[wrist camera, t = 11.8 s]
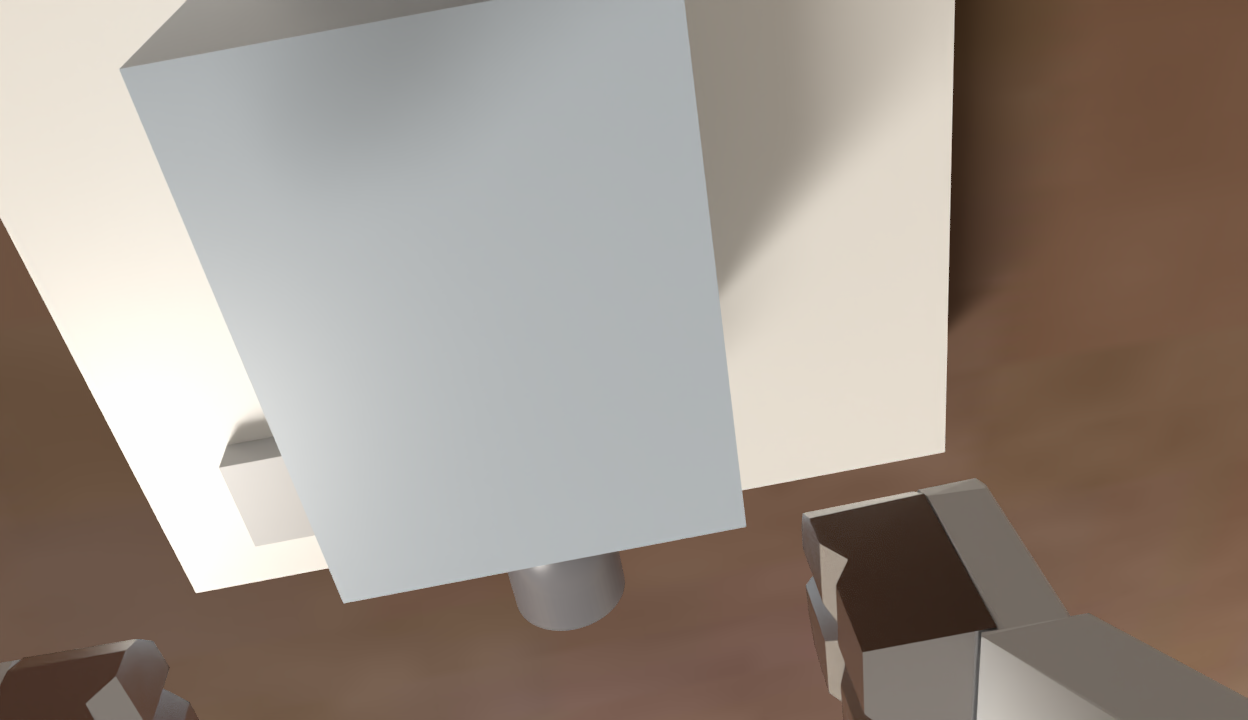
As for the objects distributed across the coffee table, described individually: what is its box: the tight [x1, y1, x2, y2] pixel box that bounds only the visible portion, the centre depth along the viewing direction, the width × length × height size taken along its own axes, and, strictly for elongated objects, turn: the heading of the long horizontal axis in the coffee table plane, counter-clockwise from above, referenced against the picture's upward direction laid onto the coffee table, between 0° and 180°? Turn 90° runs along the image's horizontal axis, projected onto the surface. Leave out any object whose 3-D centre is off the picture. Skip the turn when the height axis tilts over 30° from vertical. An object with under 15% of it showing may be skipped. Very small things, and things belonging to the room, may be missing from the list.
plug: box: [119, 0, 746, 631], centre depth 17 cm, size 11×6×8 cm, turn 9°
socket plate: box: [0, 0, 955, 593], centre depth 19 cm, size 16×16×4 cm
